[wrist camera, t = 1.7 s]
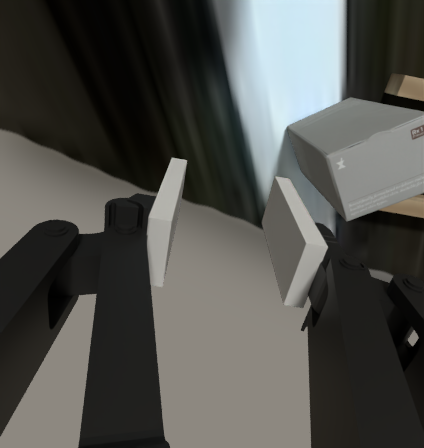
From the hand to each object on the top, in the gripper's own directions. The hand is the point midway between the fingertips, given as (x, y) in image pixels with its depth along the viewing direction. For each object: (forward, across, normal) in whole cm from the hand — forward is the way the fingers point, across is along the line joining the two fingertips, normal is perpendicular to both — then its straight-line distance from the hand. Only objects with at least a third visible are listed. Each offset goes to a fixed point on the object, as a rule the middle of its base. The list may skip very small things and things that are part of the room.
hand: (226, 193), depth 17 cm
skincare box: (+25, +13, 0) cm, 28 cm away
